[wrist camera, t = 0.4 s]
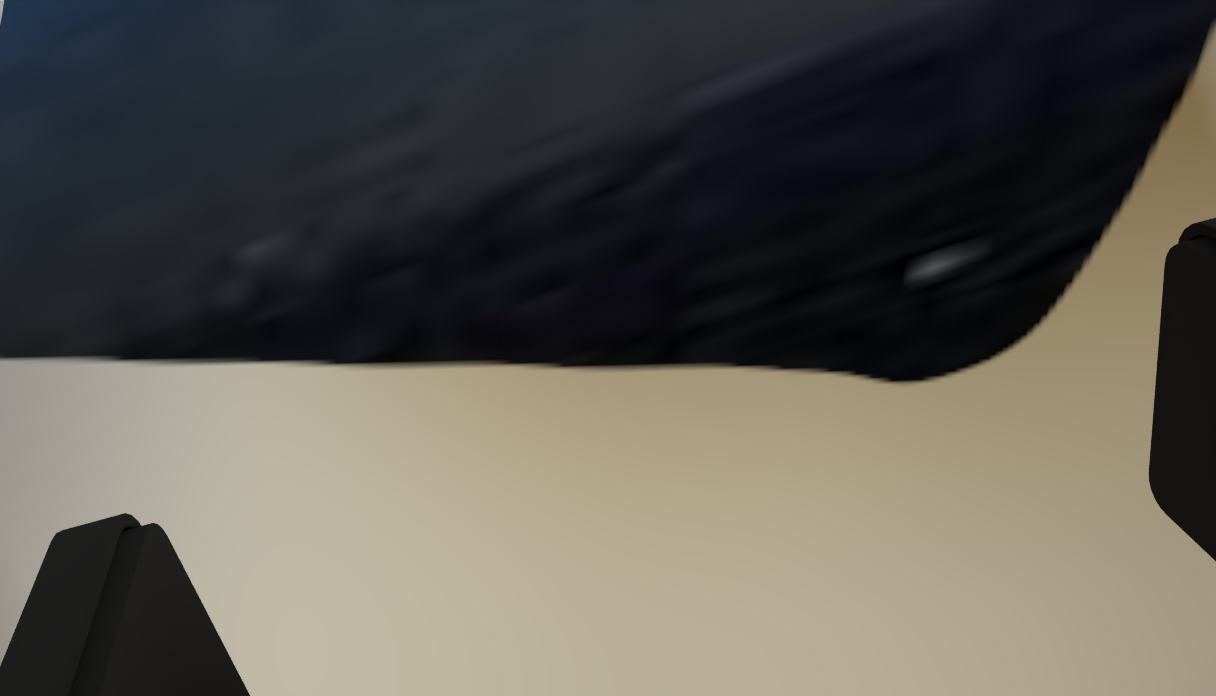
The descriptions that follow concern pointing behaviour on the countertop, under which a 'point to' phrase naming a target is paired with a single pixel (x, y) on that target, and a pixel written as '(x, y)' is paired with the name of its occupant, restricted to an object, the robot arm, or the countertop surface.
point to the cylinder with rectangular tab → (1, 8)
